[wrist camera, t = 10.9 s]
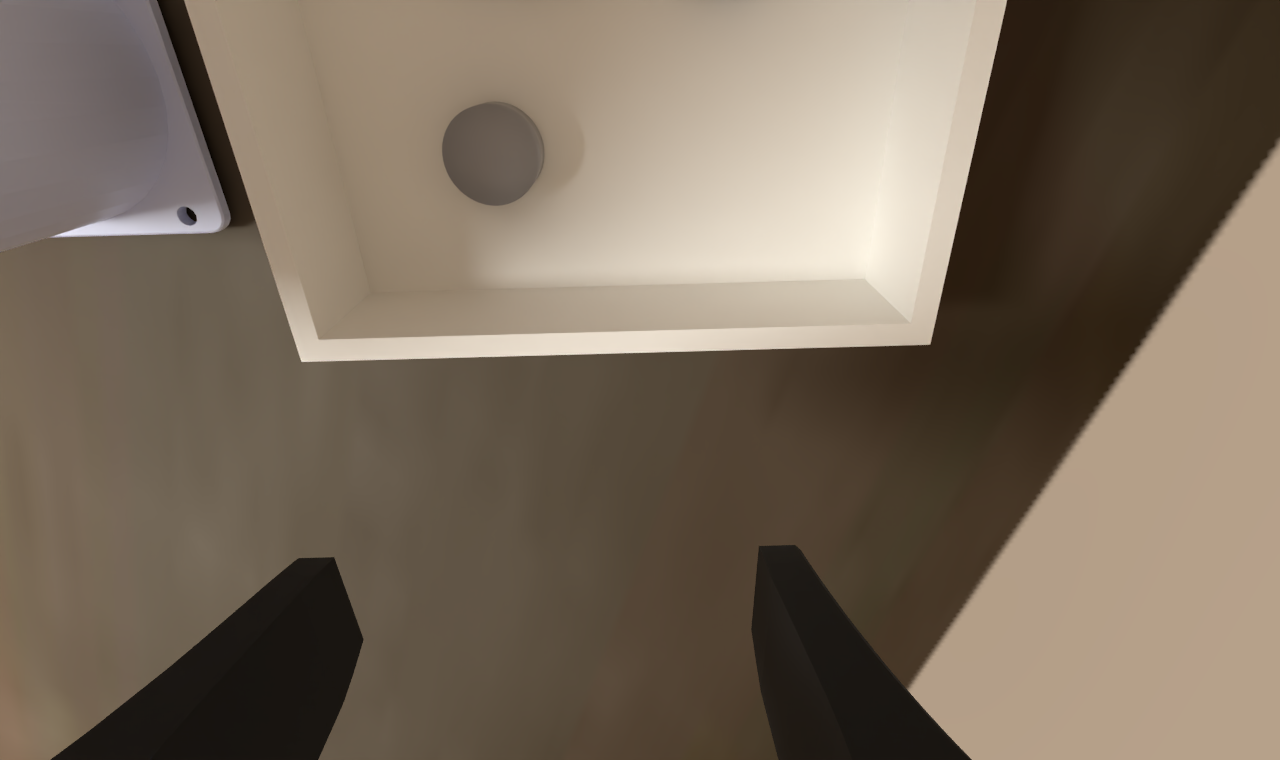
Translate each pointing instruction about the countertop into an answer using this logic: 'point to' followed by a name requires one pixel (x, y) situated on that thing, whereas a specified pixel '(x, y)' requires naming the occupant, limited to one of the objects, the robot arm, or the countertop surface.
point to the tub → (601, 168)
